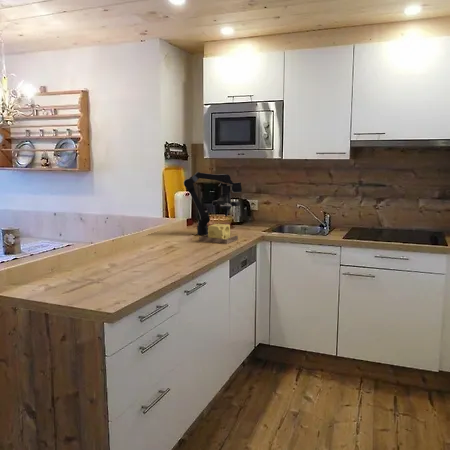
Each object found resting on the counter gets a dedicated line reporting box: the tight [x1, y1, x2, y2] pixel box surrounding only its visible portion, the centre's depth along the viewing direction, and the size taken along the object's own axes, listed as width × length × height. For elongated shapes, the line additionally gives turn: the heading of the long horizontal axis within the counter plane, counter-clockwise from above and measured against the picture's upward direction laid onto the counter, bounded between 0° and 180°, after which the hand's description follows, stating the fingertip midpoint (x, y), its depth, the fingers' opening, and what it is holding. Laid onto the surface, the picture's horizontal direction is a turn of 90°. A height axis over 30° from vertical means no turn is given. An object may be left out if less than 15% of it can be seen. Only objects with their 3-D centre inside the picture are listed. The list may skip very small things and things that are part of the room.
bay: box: [198, 234, 239, 245], centre depth 277 cm, size 20×14×2 cm
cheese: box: [207, 223, 231, 239], centre depth 276 cm, size 10×11×10 cm
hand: (226, 216), depth 298 cm, fingers closed
